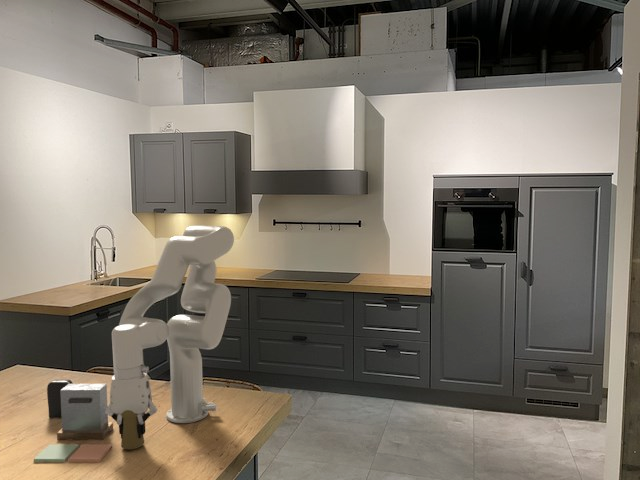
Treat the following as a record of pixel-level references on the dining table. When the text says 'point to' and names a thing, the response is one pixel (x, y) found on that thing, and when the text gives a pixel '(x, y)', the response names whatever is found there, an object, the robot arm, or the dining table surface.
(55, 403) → the battery charger
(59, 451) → the green pad
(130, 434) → the brown pepper mill
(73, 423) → the grey unit
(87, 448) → the terracotta pad
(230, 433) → the dining table surface
